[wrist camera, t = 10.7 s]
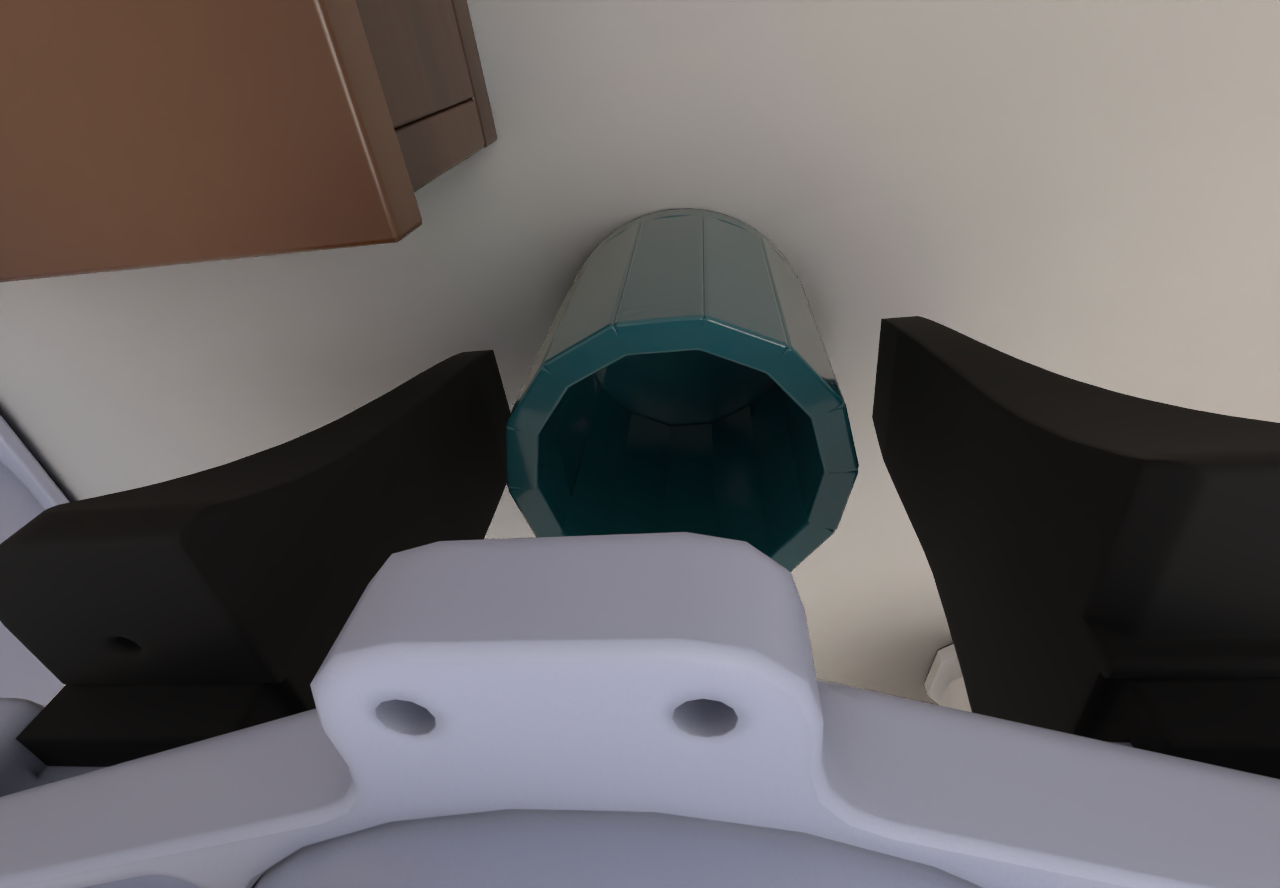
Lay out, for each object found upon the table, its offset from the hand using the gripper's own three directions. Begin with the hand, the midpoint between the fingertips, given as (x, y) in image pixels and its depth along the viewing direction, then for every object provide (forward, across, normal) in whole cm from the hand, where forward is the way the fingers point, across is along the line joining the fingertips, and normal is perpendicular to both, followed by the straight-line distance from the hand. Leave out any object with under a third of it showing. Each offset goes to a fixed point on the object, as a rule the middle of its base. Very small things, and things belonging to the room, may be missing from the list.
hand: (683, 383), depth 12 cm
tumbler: (+2, 0, 0) cm, 3 cm away
